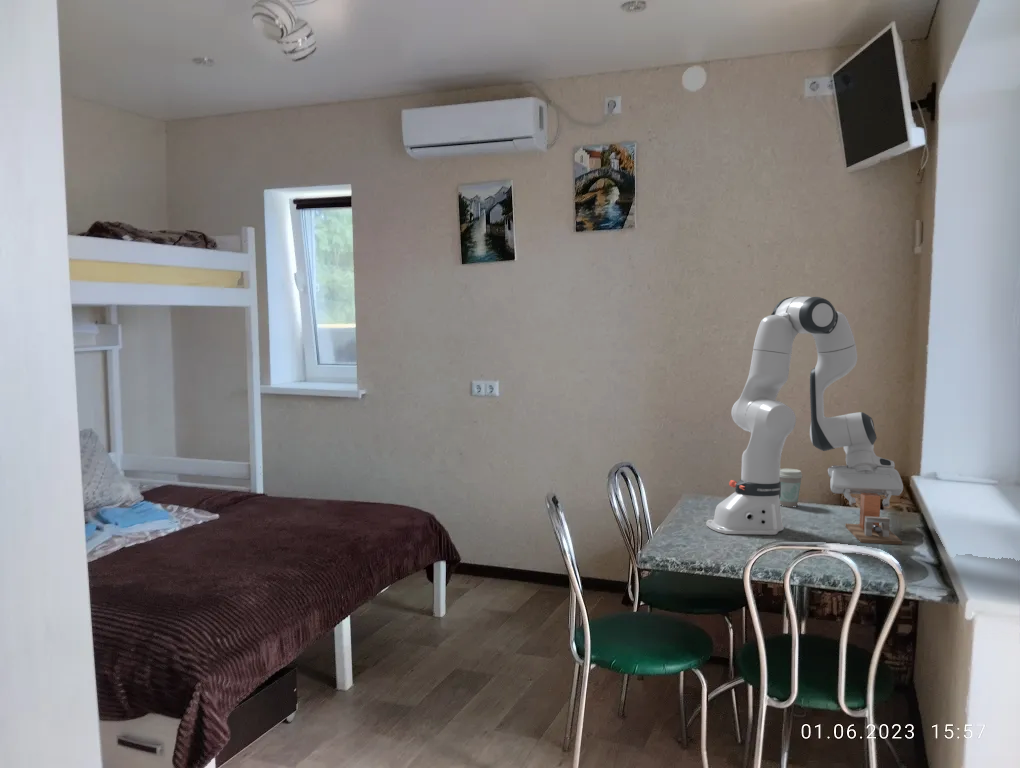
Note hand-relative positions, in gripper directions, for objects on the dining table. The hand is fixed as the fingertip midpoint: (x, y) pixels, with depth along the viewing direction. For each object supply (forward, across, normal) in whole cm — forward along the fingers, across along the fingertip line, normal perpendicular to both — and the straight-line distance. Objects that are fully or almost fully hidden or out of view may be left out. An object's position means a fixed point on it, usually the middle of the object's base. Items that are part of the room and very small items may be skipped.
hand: (869, 504), depth 243 cm
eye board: (+9, 0, +2) cm, 9 cm away
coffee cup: (-16, -18, +28) cm, 37 cm away
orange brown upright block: (+8, 0, +1) cm, 8 cm away
